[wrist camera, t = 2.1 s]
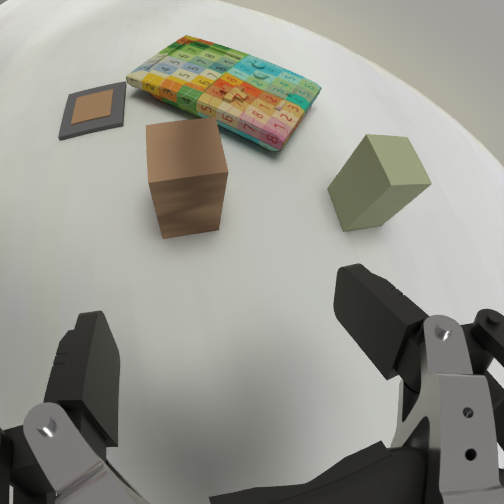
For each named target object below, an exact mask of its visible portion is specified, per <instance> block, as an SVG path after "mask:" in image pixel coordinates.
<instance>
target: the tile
mask: <svg viewBox="0 0 504 504" xmlns="http://www.w3.org/2000/svg"><path fill="white" fill-rule="evenodd" d="M125 93H126V81H125V82H120V83H115V84H110V85H105V86H101V87H96V88H92V89H88V90H84V91H80V92H76V93H73V94H69V96H68V100H67V103H66V107H65V111H64V115H63V119H62V123H61V128H60V132H59V137H58V138H59V140H64V139H68V138H71V137H75V136H79V135H83V134H88V133H92V132H96V131H101V130H105V129H110V128H115V127H120V126H123V121H124V105H125Z"/></svg>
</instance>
